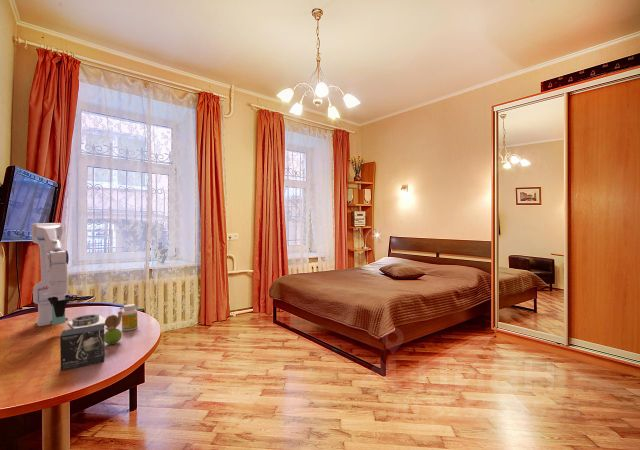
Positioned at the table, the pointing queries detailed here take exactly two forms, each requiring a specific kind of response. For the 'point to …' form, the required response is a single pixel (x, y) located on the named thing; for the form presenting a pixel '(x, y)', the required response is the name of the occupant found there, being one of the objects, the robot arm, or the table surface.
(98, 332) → the box
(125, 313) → the supplement bottle
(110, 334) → the snail figurine
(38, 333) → the table surface
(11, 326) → the table surface
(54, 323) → the teal peg
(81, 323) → the collar plate
